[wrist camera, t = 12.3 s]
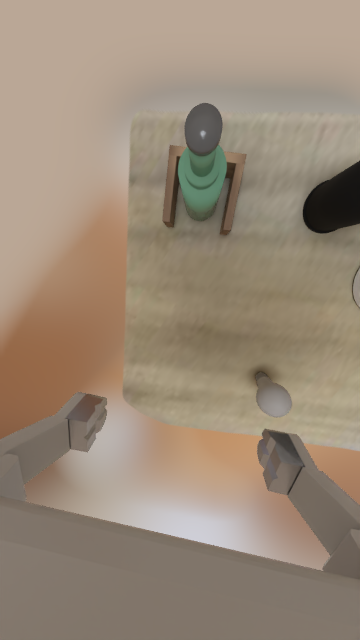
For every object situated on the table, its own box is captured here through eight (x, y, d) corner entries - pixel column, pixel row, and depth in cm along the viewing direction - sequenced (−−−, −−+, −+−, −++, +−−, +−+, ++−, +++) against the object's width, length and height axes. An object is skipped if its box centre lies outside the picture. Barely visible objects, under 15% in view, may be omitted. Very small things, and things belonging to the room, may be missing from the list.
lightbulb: (249, 388, 44) (265, 427, 33) (244, 366, 42) (259, 400, 32) (275, 383, 43) (300, 422, 32) (271, 361, 41) (296, 394, 31)
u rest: (239, 170, 31) (246, 154, 26) (226, 234, 34) (230, 230, 30) (174, 162, 32) (169, 145, 27) (167, 226, 35) (162, 220, 30)
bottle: (219, 188, 32) (247, 84, 13) (213, 222, 34) (230, 173, 15) (188, 184, 33) (173, 76, 14) (183, 218, 34) (164, 165, 16)
